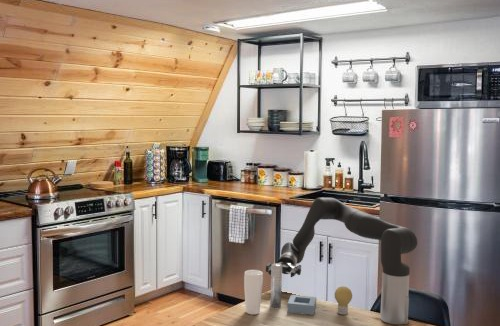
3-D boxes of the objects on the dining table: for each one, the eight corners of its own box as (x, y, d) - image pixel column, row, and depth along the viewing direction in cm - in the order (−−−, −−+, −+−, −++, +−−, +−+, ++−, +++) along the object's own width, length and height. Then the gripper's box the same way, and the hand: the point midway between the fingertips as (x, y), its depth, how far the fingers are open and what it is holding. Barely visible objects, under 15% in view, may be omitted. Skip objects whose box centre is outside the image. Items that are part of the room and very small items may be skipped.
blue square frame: (316, 306, 198) (316, 297, 198) (313, 315, 189) (313, 305, 188) (291, 303, 200) (291, 294, 200) (287, 312, 191) (287, 303, 191)
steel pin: (281, 305, 198) (282, 264, 197) (279, 308, 194) (281, 266, 193) (271, 304, 199) (272, 263, 198) (269, 307, 195) (270, 265, 194)
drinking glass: (241, 314, 187) (242, 274, 186) (245, 308, 194) (246, 268, 193) (259, 316, 186) (260, 275, 185) (263, 310, 193) (264, 270, 191)
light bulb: (350, 310, 194) (351, 284, 193) (352, 317, 188) (353, 290, 187) (333, 309, 195) (334, 283, 194) (334, 316, 188) (335, 289, 187)
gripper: (271, 252, 224) (263, 262, 208) (304, 255, 221) (299, 266, 205) (270, 269, 224) (263, 281, 209) (303, 272, 221) (298, 284, 206)
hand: (280, 273), depth 207 cm, fingers open, 8 cm apart
